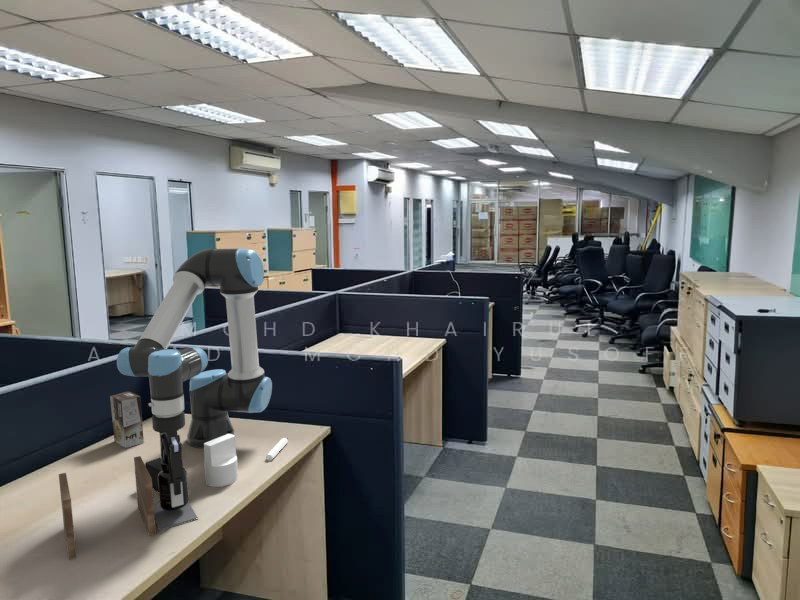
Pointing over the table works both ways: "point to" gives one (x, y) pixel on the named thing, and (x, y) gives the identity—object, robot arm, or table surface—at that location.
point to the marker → (277, 449)
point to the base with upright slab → (221, 461)
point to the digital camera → (154, 471)
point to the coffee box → (127, 419)
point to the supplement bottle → (165, 487)
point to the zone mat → (173, 516)
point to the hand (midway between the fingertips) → (174, 498)
